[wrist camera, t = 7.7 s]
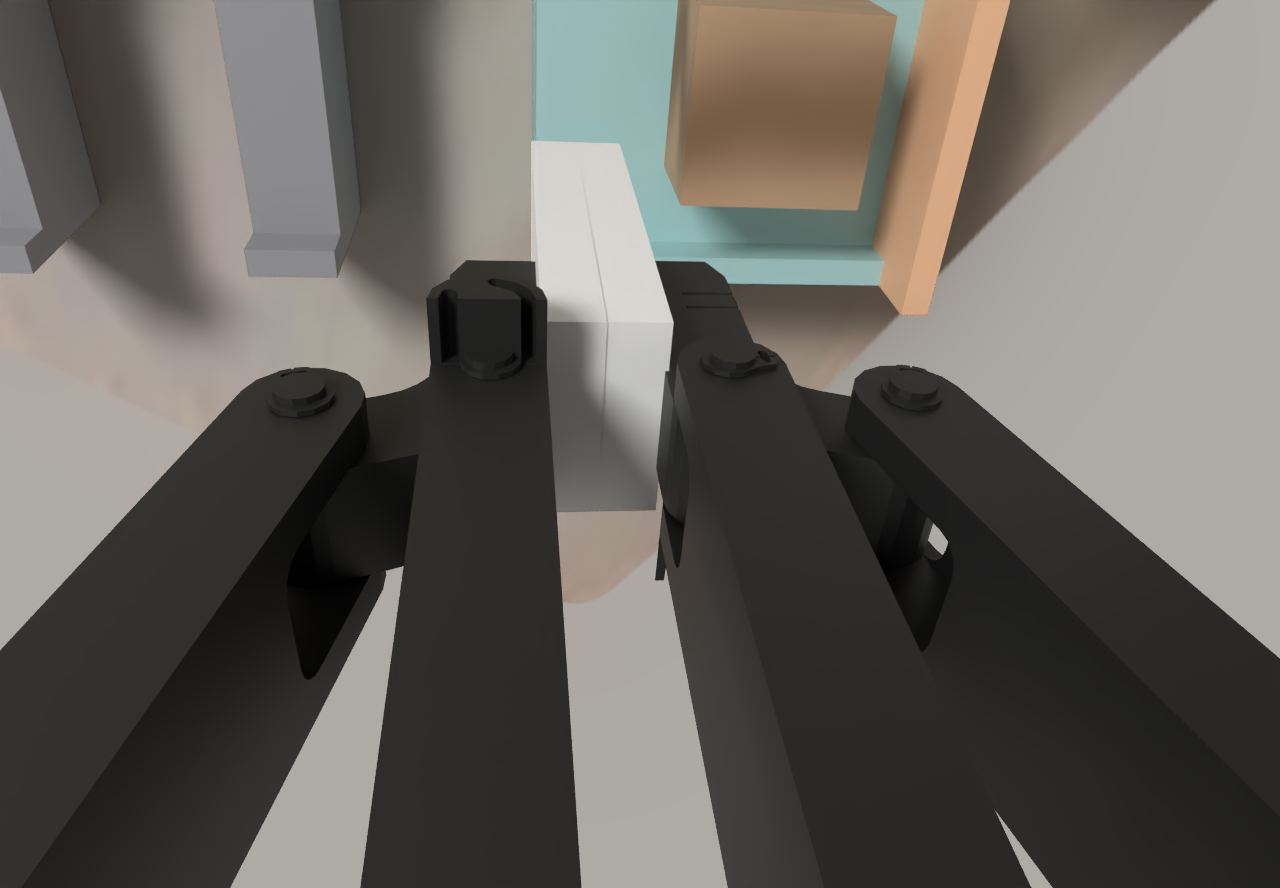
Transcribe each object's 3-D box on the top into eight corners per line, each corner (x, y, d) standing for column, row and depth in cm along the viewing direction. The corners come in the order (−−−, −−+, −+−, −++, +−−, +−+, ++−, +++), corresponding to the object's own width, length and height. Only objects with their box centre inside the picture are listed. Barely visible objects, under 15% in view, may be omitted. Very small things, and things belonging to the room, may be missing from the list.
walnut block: (679, -18, 31) (700, 5, 27) (856, -7, 31) (897, 16, 28) (664, 166, 34) (680, 205, 31) (824, 171, 35) (857, 210, 31)
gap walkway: (-118, -236, 29) (-330, -248, 22) (928, -153, 34) (1047, -139, 26) (19, 204, 37) (-103, 305, 30) (852, 223, 41) (927, 315, 34)
